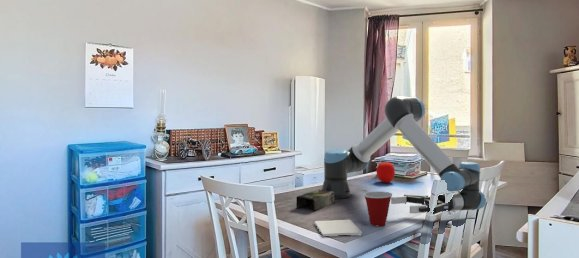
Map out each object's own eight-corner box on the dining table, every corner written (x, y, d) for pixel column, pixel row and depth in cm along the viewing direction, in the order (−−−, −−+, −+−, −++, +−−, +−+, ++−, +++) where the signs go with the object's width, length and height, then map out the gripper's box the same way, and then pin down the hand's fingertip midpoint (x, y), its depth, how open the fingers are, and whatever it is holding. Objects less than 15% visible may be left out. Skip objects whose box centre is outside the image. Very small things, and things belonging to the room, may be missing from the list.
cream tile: (314, 223, 133) (314, 221, 133) (349, 222, 135) (349, 219, 135) (322, 236, 120) (322, 233, 120) (361, 235, 121) (361, 232, 121)
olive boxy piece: (318, 199, 171) (318, 187, 171) (336, 202, 165) (336, 190, 165) (295, 209, 155) (295, 195, 154) (314, 213, 149) (314, 199, 149)
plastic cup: (370, 217, 141) (371, 188, 141) (396, 223, 134) (396, 192, 134) (357, 224, 133) (358, 193, 132) (384, 230, 126) (385, 198, 125)
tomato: (395, 184, 205) (395, 163, 204) (376, 183, 207) (376, 162, 207) (394, 181, 216) (394, 160, 215) (376, 180, 218) (376, 159, 218)
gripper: (470, 220, 128) (418, 224, 123) (428, 203, 152) (384, 205, 148) (470, 200, 128) (419, 203, 123) (429, 186, 152) (385, 188, 147)
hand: (400, 204), depth 135 cm, fingers open, 13 cm apart
